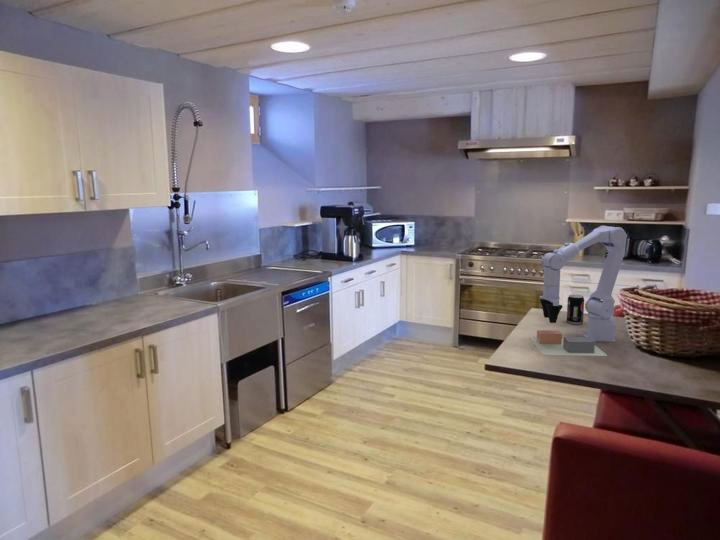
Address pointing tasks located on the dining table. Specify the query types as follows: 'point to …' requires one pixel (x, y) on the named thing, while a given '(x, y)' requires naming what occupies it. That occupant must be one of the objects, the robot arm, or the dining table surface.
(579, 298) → the beverage can
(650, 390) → the dining table surface
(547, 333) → the terracotta brick
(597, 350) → the baseplate
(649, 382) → the dining table surface
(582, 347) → the grey base brick
